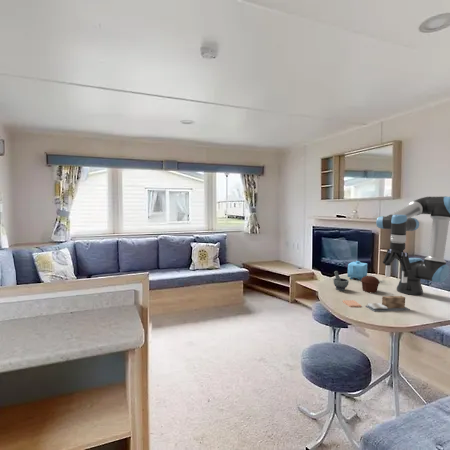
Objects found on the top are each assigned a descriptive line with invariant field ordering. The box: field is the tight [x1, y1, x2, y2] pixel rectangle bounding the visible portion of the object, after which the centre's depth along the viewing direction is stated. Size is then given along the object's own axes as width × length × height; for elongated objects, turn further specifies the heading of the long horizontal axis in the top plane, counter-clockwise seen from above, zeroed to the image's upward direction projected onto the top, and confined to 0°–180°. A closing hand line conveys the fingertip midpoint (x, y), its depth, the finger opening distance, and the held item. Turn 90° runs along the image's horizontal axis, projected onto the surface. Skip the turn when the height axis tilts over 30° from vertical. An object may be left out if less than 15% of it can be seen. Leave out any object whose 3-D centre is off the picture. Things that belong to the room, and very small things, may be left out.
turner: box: [366, 295, 406, 309], centre depth 177 cm, size 20×7×6 cm, turn 98°
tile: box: [342, 299, 362, 308], centre depth 183 cm, size 1×9×7 cm
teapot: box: [347, 260, 368, 281], centre depth 244 cm, size 22×11×14 cm, turn 142°
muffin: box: [360, 275, 381, 293], centre depth 211 cm, size 12×11×10 cm
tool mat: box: [365, 305, 411, 312], centre depth 177 cm, size 22×8×1 cm, turn 98°
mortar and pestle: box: [332, 270, 349, 292], centre depth 213 cm, size 11×9×12 cm
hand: (395, 279), depth 176 cm, fingers open, 13 cm apart
